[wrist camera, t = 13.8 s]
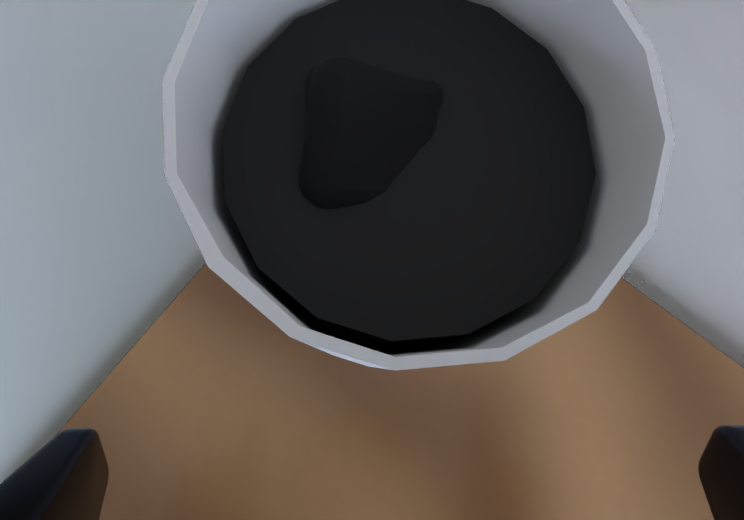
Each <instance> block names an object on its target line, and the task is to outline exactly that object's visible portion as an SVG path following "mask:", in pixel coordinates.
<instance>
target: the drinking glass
mask: <svg viewBox="0 0 744 520" xmlns="http://www.w3.org/2000/svg"><path fill="white" fill-rule="evenodd" d="M162 89H163V141H164V176H165V178H166V180H167V182H168V184H169V186H170V188H171V191H172V193H173V195H174V197H175V199H176V201H177V203H178V205H179V207H180V209H181V211H182V213H183V216H184V218H185V220H186V222H187V224H188V226H189V228H190V230H191V232H192V234H193V236H194V239H195V241H196V243H197V245H198V247H199V249H200V251H201V253H202V255H203V257H204V259H205V261H206V264H207V266H208V267H209V268H210V269H211V270H212V271H213V272H215V273H216V274H217V275H218V276H219V277H220V278H222V279H223V280H224V281H225V282H226V283H227V284H229V285H230V286H231V287H232V288H233V289H234V290H236V291H237V292H238V293H239V294H240V295H241V296H243V297H244V298H245V299H246V300H247V301H248V302H250V303H251V304H252V305H253V306H254V307H255V308H257V309H258V310H259V311H260V312H261V313H262V314H264V315H265V316H266V317H267V318H268V319H269V320H271V321H272V322H273V323H274V324H275V325H276V326H278V327H279V328H280V329H281V330H282V331H283V332H285V333H286V334H287V335H288V336H289V337H291V338H293V339H296V340H298V341H301V342H303V343H305V344H308V345H310V346H312V347H315V348H317V349H319V350H322V351H324V352H327V353H329V354H331V355H333V356H337V357H340V358H343V359H346V360H349V361H352V362H355V363H359V364H362V365H365V366H368V367H375V368H382V369H389V370H395V371H396V370H407V369H418V368H429V367H440V366H451V365H462V364H473V363H484V362H495V361H505V360H507V359H508V358H510V357H512V356H514V355H516V354H517V353H519V352H521V351H523V350H525V349H527V348H528V347H530V346H532V345H534V344H536V343H538V342H539V341H541V340H543V339H545V338H547V337H549V336H550V335H552V334H554V333H556V332H558V331H560V330H561V329H563V328H565V327H567V326H569V325H570V324H572V323H574V322H576V321H578V320H580V319H581V318H583V317H585V316H587V315H589V314H591V313H592V312H594V311H596V310H597V309H598V308H599V306H600V305H601V304H602V302H603V301H604V300H605V298H606V297H607V296H608V294H609V293H610V292H611V290H612V289H613V288H614V286H615V285H616V284H617V282H618V281H619V280H620V278H621V277H622V276H623V274H624V273H625V272H626V270H627V269H628V267H629V266H630V265H631V263H632V262H633V261H634V259H635V258H636V257H637V255H638V254H639V253H640V251H641V250H642V249H643V247H644V246H645V245H646V243H647V242H648V241H649V239H650V238H651V237H652V235H653V234H654V233H655V231H656V227H657V222H658V218H659V213H660V208H661V204H662V199H663V194H664V190H665V185H666V180H667V176H668V171H669V166H670V161H671V157H672V152H673V147H674V143H675V135H674V131H673V126H672V121H671V116H670V112H669V107H668V102H667V97H666V93H665V88H664V83H663V78H662V73H661V69H660V64H659V59H658V54H657V50H656V48H655V46H654V45H653V43H652V42H651V40H650V39H649V37H648V36H647V34H646V33H645V31H644V30H643V28H642V27H641V25H640V24H639V22H638V21H637V19H636V18H635V16H634V15H633V13H632V12H631V10H630V9H629V8H628V6H627V5H626V3H625V2H624V0H196V2H195V5H194V7H193V9H192V11H191V14H190V16H189V18H188V21H187V23H186V25H185V28H184V30H183V32H182V35H181V37H180V39H179V42H178V44H177V46H176V49H175V51H174V53H173V56H172V58H171V60H170V63H169V65H168V67H167V70H166V72H165V74H164V77H163V79H162Z"/></svg>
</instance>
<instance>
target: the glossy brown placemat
mask: <svg viewBox="0 0 744 520" xmlns="http://www.w3.org/2000/svg"><path fill="white" fill-rule="evenodd" d="M721 425H744V368H743V367H742V366H740V365H739V364H738V363H736V362H735V361H734V360H732V359H731V358H730V357H728V356H727V355H726V354H724V353H723V352H721V351H720V350H719V349H717V348H716V347H715V346H713V345H712V344H711V343H709V342H708V341H707V340H705V339H704V338H703V337H701V336H700V335H698V334H697V333H696V332H694V331H693V330H692V329H690V328H689V327H688V326H686V325H685V324H684V323H682V322H681V321H679V320H678V319H677V318H675V317H674V316H673V315H671V314H670V313H669V312H667V311H666V310H665V309H663V308H662V307H660V306H659V305H658V304H656V303H655V302H654V301H652V300H651V299H650V298H648V297H647V296H646V295H644V294H643V293H642V292H640V291H639V290H637V289H636V288H635V287H633V286H632V285H631V284H629V283H628V282H627V281H625V280H624V279H623V278H620V280H619V281H618V282H617V284H616V285H615V286H614V288H613V289H612V290H611V292H610V293H609V294H608V296H607V297H606V298H605V300H604V301H603V302H602V304H601V305H600V306H599V308H598V309H597V310H596V311H594V312H592V313H591V314H589V315H587V316H585V317H583V318H581V319H580V320H578V321H576V322H574V323H572V324H570V325H569V326H567V327H565V328H563V329H561V330H560V331H558V332H556V333H554V334H552V335H550V336H549V337H547V338H545V339H543V340H541V341H539V342H538V343H536V344H534V345H532V346H530V347H528V348H527V349H525V350H523V351H521V352H519V353H517V354H516V355H514V356H512V357H510V358H508V359H507V360H505V361H495V362H484V363H473V364H462V365H451V366H440V367H429V368H418V369H407V370H396V371H395V370H389V369H382V368H375V367H368V366H365V365H362V364H359V363H355V362H352V361H349V360H346V359H343V358H340V357H337V356H333V355H331V354H329V353H327V352H324V351H322V350H319V349H317V348H315V347H312V346H310V345H308V344H305V343H303V342H301V341H298V340H296V339H293V338H291V337H289V336H288V335H287V334H286V333H285V332H283V331H282V330H281V329H280V328H279V327H278V326H276V325H275V324H274V323H273V322H272V321H271V320H269V319H268V318H267V317H266V316H265V315H264V314H262V313H261V312H260V311H259V310H258V309H257V308H255V307H254V306H253V305H252V304H251V303H250V302H248V301H247V300H246V299H245V298H244V297H243V296H241V295H240V294H239V293H238V292H237V291H236V290H234V289H233V288H232V287H231V286H230V285H229V284H227V283H226V282H225V281H224V280H223V279H222V278H220V277H219V276H218V275H217V274H216V273H215V272H213V271H212V270H211V269H210V268H209V267H208V266H207V264H206V263H205V265H204V266H203V267H202V268H201V269H200V270H199V271H198V273H197V274H196V275H195V276H194V277H193V278H192V279H191V281H190V282H189V283H188V284H187V285H186V286H185V287H184V289H183V290H182V291H181V292H180V293H179V294H178V295H177V297H176V298H175V299H174V300H173V301H172V302H171V303H170V305H169V306H168V307H167V308H166V309H165V310H164V312H163V313H162V314H161V315H160V316H159V317H158V318H157V320H156V321H155V322H154V323H153V324H152V325H151V326H150V328H149V329H148V330H147V331H146V332H145V333H144V334H143V336H142V337H141V338H140V339H139V340H138V341H137V342H136V344H135V345H134V346H133V347H132V348H131V349H130V350H129V352H128V353H127V354H126V355H125V356H124V357H123V359H122V360H121V361H120V362H119V363H118V364H117V365H116V367H115V368H114V369H113V370H112V371H111V372H110V373H109V375H108V376H107V377H106V378H105V379H104V380H103V381H102V383H101V384H100V385H99V386H98V387H97V388H96V389H95V391H94V392H93V393H92V394H91V395H90V396H89V398H88V399H87V400H86V401H85V402H84V403H83V404H82V406H81V407H80V408H79V409H78V410H77V411H76V412H75V414H74V415H73V416H72V417H71V418H70V419H69V420H68V422H67V423H66V424H65V425H64V426H63V427H62V428H61V430H60V431H59V432H58V433H57V434H56V435H55V436H57V435H58V434H59V433H60V432H62V431H63V430H65V429H70V428H91V429H94V430H96V431H97V432H98V434H99V437H100V440H101V443H102V447H103V450H104V453H105V456H106V459H107V463H108V467H109V479H108V485H107V489H106V493H105V497H104V501H103V505H102V509H101V513H100V517H99V520H714V518H713V516H712V513H711V510H710V507H709V504H708V501H707V498H706V495H705V493H704V490H703V487H702V484H701V481H700V478H699V473H698V464H699V460H700V458H701V455H702V453H703V451H704V449H705V447H706V445H707V443H708V441H709V439H710V437H711V435H712V432H713V431H714V429H715V428H717V427H718V426H721ZM55 436H54V437H55Z"/></svg>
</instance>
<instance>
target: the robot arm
mask: <svg viewBox="0 0 744 520" xmlns="http://www.w3.org/2000/svg"><path fill="white" fill-rule="evenodd" d="M698 473H699V478H700V481H701V484H702V487H703V490H704V493H705V495H706V498H707V501H708V504H709V507H710V510H711V513H712V516H713V518H714V520H744V425H721V426H718V427H717V428H715V429H714V431H713V432H712V435H711V437H710V439H709V441H708V443H707V445H706V447H705V449H704V451H703V453H702V455H701V458H700V460H699V464H698ZM108 479H109V467H108V463H107V459H106V456H105V453H104V450H103V447H102V443H101V440H100V437H99V434H98V432H97V431H96V430H94V429H91V428H70V429H65V430H63V431H62V432H60V433H59V434H58V435H57V436H55V437H54V438H53V439H52V440H51V441H50V442H48V443H47V444H46V445H45V446H44V447H43V448H41V449H40V450H39V451H38V452H37V453H36V454H35V455H33V456H32V457H31V458H30V459H29V460H28V461H26V462H25V463H24V464H23V465H22V466H21V467H19V468H18V469H17V470H16V471H15V472H14V473H13V474H11V475H10V476H9V477H8V478H7V479H6V480H4V481H3V482H2V483H1V484H0V520H99V517H100V513H101V509H102V505H103V501H104V497H105V493H106V489H107V485H108Z"/></svg>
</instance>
